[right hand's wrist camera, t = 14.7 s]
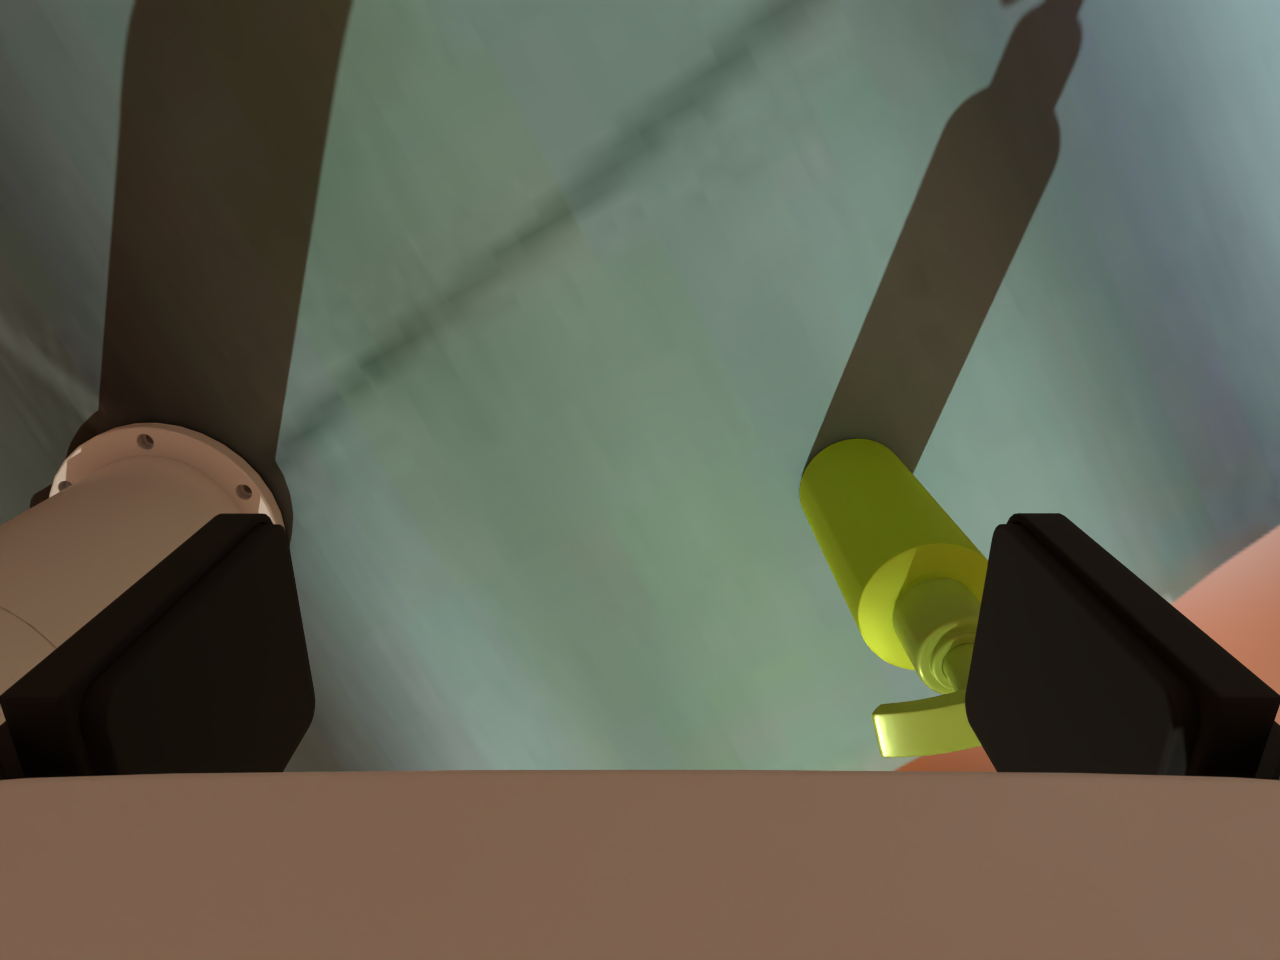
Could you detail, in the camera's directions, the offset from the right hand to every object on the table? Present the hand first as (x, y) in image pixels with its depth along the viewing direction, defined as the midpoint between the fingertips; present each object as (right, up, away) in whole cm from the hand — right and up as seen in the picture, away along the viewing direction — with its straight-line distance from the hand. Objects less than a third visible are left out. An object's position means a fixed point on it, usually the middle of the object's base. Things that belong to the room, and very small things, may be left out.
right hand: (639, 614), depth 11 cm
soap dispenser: (+11, +1, +35) cm, 36 cm away
